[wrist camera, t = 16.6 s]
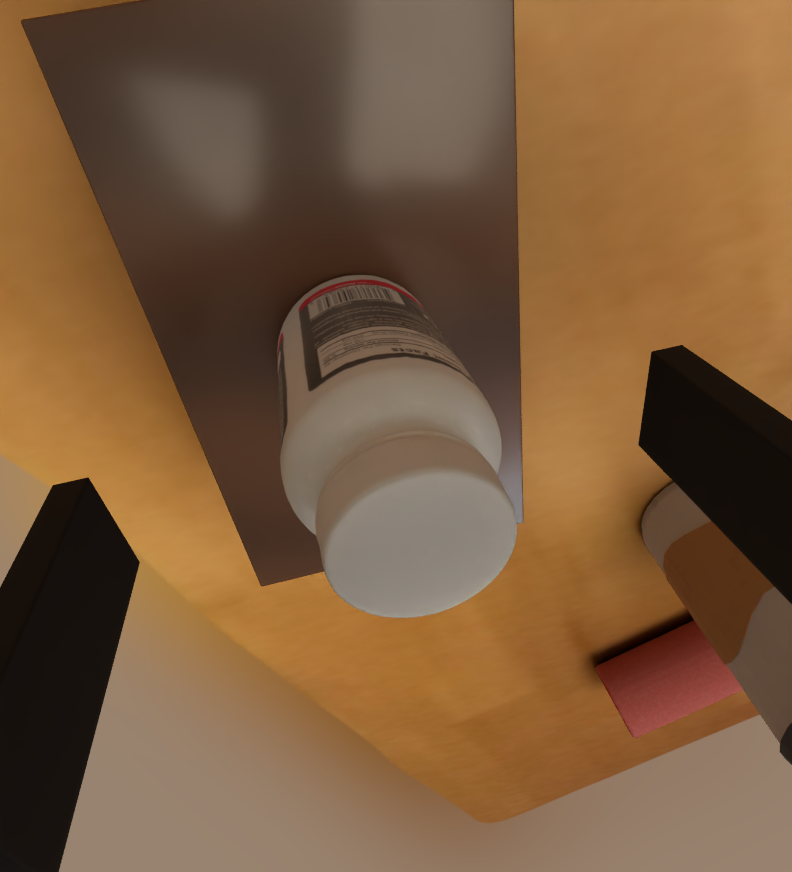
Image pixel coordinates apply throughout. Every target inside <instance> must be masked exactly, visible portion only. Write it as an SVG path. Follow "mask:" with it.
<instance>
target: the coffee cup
mask: <svg viewBox="0 0 792 872" xmlns="http://www.w3.org/2000/svg"><path fill="white" fill-rule="evenodd" d="M641 527H642V532H643V534H642V535H643V540H644V544H645V546H646V547H647V548H648V550H649V551H650V553H651V554H652V556H653V557H654V559H655V560H656V562H657V563H658V565H659V566H660V568H661V569H662V571H663V572H664V573H665V575H666V578H667V580H668V582H669V583H670V585H671V586H672V588H673V589H674V591H675V592H676V594H677V595H678V597H679V598H680V600H681V601H682V603H683V604H684V606H685V607H686V609H687V610H688V611H689V613H690V614H691V616H692V617H693V619H694V620H695V622H696V623H697V625H698V626H699V628H700V629H701V631H702V632H703V634H704V635H705V637H706V638H707V640H708V641H709V643H710V644H711V646H712V647H713V649H714V650H715V652H716V653H717V655H718V656H719V658H720V659H721V661H722V662H723V663H724V665H726V666H728V668H729V669H730V671H731V672H732V674H733V675H734V677H735V678H736V680H737V681H738V682H739V684H740V685H741V687H742V688H743V690H744V691H745V693H746V694H747V696H748V697H749V699H750V700H751V702H752V703H753V705H754V706H755V707H756V709H757V710H758V712H759V713H760V715H761V716H762V718H763V719H764V721H765V722H766V724H767V725H768V727H769V728H770V729H771V731H772V733H773V734H774V735H775V737H776V738H777V740H778V741H779V743H780V752H781V754H782V755H783V756H784V758H785V759H786V760H787V761H788V762H789V763H791V764H792V604H791V603H790V602H789V601H788V600H787V599H786V598H785V597H784V596H783V595H782V594H781V593H780V592H779V591H778V590H777V589H776V588H775V587H774V586H773V585H772V584H771V583H770V581H769V580H768V579H767V578H766V577H765V576H764V575H763V574H762V573H761V572H760V571H759V570H758V569H757V568H756V567H755V566H754V565H753V564H752V563H751V562H750V561H749V560H748V559H747V557H746V556H745V555H744V554H743V553H742V552H741V551H740V550H739V549H738V548H737V547H736V546H735V545H734V544H733V543H732V542H731V541H730V540H729V539H728V538H727V537H726V536H725V535H724V534H723V532H722V531H721V530H720V529H719V528H718V527H717V526H716V525H715V524H714V523H713V522H712V521H711V520H710V519H709V518H708V517H707V516H706V515H705V514H704V513H703V512H702V511H701V510H700V508H699V507H698V506H697V505H696V504H695V503H694V502H693V501H692V500H691V499H690V498H689V497H688V496H687V495H686V494H685V493H684V492H683V491H682V490H681V489H680V488H679V487H678V486H677V485H676V483H675V482H673V483H672V484H670V485H669V486H667V487H666V488H664V489H663V490H662V491H661V492H660V493H659V494H658V495H657V496H656V497H655V498H654V499H653V500H652V501H651V503H650V504H649V505H648V507H647V509H646V511H645V513H644V515H643V518H642V524H641Z"/></svg>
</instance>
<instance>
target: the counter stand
mask: <svg viewBox="0 0 792 872" xmlns="http://www.w3.org/2000/svg"><path fill="white" fill-rule="evenodd" d="M21 24H22V26H23V28H24V31H25V33H26V35H27V38H28V40H29V42H30V45H31V47H32V49H33V52H34V54H35V56H36V59H37V61H38V64H39V66H40V68H41V71H42V73H43V75H44V78H45V80H46V82H47V85H48V87H49V89H50V92H51V94H52V96H53V99H54V101H55V103H56V106H57V108H58V110H59V113H60V115H61V118H62V120H63V122H64V125H65V127H66V129H67V132H68V134H69V136H70V139H71V141H72V143H73V146H74V148H75V150H76V153H77V155H78V157H79V160H80V162H81V165H82V167H83V169H84V172H85V174H86V176H87V179H88V181H89V183H90V186H91V188H92V190H93V193H94V195H95V197H96V200H97V202H98V204H99V207H100V209H101V211H102V214H103V216H104V219H105V221H106V223H107V226H108V228H109V230H110V233H111V235H112V237H113V240H114V242H115V244H116V247H117V249H118V251H119V254H120V256H121V258H122V261H123V263H124V265H125V268H126V270H127V273H128V275H129V277H130V280H131V282H132V284H133V287H134V289H135V291H136V294H137V296H138V298H139V301H140V303H141V305H142V308H143V310H144V312H145V315H146V317H147V320H148V322H149V324H150V327H151V329H152V331H153V334H154V336H155V338H156V341H157V343H158V345H159V348H160V350H161V352H162V355H163V357H164V359H165V362H166V364H167V366H168V369H169V371H170V374H171V376H172V378H173V381H174V383H175V385H176V388H177V390H178V392H179V395H180V397H181V399H182V402H183V404H184V406H185V409H186V411H187V413H188V416H189V418H190V420H191V423H192V425H193V428H194V430H195V432H196V435H197V437H198V439H199V442H200V444H201V446H202V449H203V451H204V453H205V456H206V458H207V460H208V463H209V465H210V467H211V470H212V472H213V475H214V477H215V479H216V482H217V484H218V486H219V489H220V491H221V493H222V496H223V498H224V500H225V503H226V505H227V507H228V510H229V512H230V514H231V517H232V519H233V521H234V524H235V526H236V529H237V531H238V533H239V536H240V538H241V540H242V543H243V545H244V547H245V550H246V552H247V554H248V557H249V559H250V561H251V564H252V566H253V568H254V571H255V573H256V575H257V578H258V580H259V583H260V585H261V586H266V585H270V584H274V583H278V582H283V581H287V580H291V579H295V578H299V577H303V576H307V575H311V574H315V573H319V572H323V571H324V568H323V564H322V558H321V552H320V546H319V543H318V540H317V536H316V535H315V534H313V533H312V532H311V531H310V530H309V529H308V528H307V527H306V526H305V525H304V524H303V523H302V522H301V521H300V519H299V518H298V517H297V515H296V514H295V512H294V511H293V509H292V507H291V505H290V503H289V501H288V499H287V496H286V493H285V489H284V485H283V481H282V476H281V464H280V411H279V386H278V372H277V349H278V340H279V335H280V331H281V329H282V326H283V323H284V321H285V319H286V318H287V316H288V314H289V313H290V311H291V309H292V308H293V306H294V305H295V304H296V303H297V302H298V301H299V300H300V299H301V298H302V297H303V296H304V295H305V294H306V293H308V292H309V291H310V290H312V289H313V288H315V287H317V286H318V285H320V284H322V283H324V282H327V281H329V280H332V279H335V278H339V277H343V276H350V275H371V276H376V277H380V278H384V279H386V280H389V281H391V282H393V283H395V284H397V285H399V286H401V287H403V288H404V289H406V290H407V291H408V292H409V293H411V294H412V295H413V296H414V297H415V298H416V299H417V300H418V301H419V303H420V304H421V305H422V306H423V308H424V309H425V310H426V312H427V313H428V314H429V316H430V317H431V318H432V320H433V321H434V323H435V325H436V326H437V328H438V329H439V330H440V332H441V333H442V335H443V336H444V338H445V339H446V341H447V342H448V344H449V345H450V347H451V348H452V350H453V351H454V353H455V354H456V356H457V357H458V358H459V360H460V361H461V363H462V364H463V366H464V367H465V369H466V370H467V372H468V373H469V375H470V376H471V377H472V379H473V380H474V382H475V383H476V384H477V386H478V388H479V389H480V391H481V392H482V393H483V395H484V397H485V398H486V400H487V401H488V403H489V405H490V407H491V409H492V411H493V413H494V415H495V418H496V420H497V423H498V426H499V430H500V435H501V444H502V454H501V462H500V467H499V470H498V474H497V476H498V478H499V480H500V482H501V483H502V485H503V487H504V489H505V491H506V493H507V495H508V496H509V498H510V500H511V503H512V505H513V508H514V511H515V515H516V521H517V524H519V523H523V476H522V422H521V367H520V313H519V258H518V204H517V149H516V95H515V40H514V0H139V1H133V2H127V3H121V4H115V5H109V6H103V7H96V8H90V9H84V10H78V11H72V12H66V13H60V14H54V15H47V16H41V17H35V18H29V19H23V20H21Z"/></svg>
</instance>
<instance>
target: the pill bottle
mask: <svg viewBox="0 0 792 872" xmlns="http://www.w3.org/2000/svg"><path fill="white" fill-rule="evenodd" d="M277 372H278V386H279V411H280V464H281V476H282V481H283V485H284V489H285V493H286V496H287V499H288V501H289V503H290V505H291V507H292V509H293V511H294V512H295V514H296V515H297V517H298V518H299V519H300V521H301V522H302V523H303V524H304V525H305V526H306V527H307V528H308V529H309V530H310V531H311V532H312V533H313V534H315V535H316V536H317V540H318V543H319V546H320V552H321V558H322V564H323V568H324V571H325V574H326V577H327V579H328V581H329V583H330V585H331V586H332V588H333V589H334V591H335V592H336V593H337V594H338V595H339V596H340V597H341V598H342V599H343V600H344V601H345V602H347V603H348V604H350V605H352V606H353V607H355V608H357V609H359V610H362V611H364V612H366V613H369V614H373V615H377V616H383V617H395V618H410V617H420V616H426V615H430V614H435V613H439V612H442V611H444V610H447V609H450V608H452V607H454V606H456V605H458V604H460V603H462V602H464V601H466V600H468V599H470V598H471V597H473V596H474V595H476V594H477V593H478V592H480V591H481V590H483V589H484V588H485V587H486V586H487V585H488V584H489V583H490V582H492V581H493V580H494V579H495V578H496V577H497V575H498V574H499V573H500V572H501V570H502V569H503V568H504V567H505V565H506V563H507V561H508V559H509V558H510V556H511V553H512V551H513V548H514V545H515V541H516V533H517V521H516V515H515V511H514V508H513V505H512V503H511V500H510V498H509V496H508V495H507V493H506V491H505V489H504V487H503V485H502V483H501V482H500V480H499V478H498V476H497V474H498V470H499V467H500V462H501V454H502V444H501V435H500V430H499V426H498V423H497V420H496V418H495V415H494V413H493V411H492V409H491V407H490V405H489V403H488V401H487V400H486V398H485V397H484V395H483V393H482V392H481V391H480V389H479V388H478V386H477V384H476V383H475V382H474V380H473V379H472V377H471V376H470V375H469V373H468V372H467V370H466V369H465V367H464V366H463V364H462V363H461V361H460V360H459V358H458V357H457V356H456V354H455V353H454V351H453V350H452V348H451V347H450V345H449V344H448V342H447V341H446V339H445V338H444V336H443V335H442V333H441V332H440V330H439V329H438V328H437V326H436V325H435V323H434V321H433V320H432V318H431V317H430V316H429V314H428V313H427V312H426V310H425V309H424V308H423V306H422V305H421V304H420V303H419V301H418V300H417V299H416V298H415V297H414V296H413V295H412V294H411V293H409V292H408V291H407V290H406V289H404V288H403V287H401V286H399V285H397V284H395V283H393V282H391V281H389V280H386V279H384V278H380V277H376V276H371V275H350V276H343V277H339V278H335V279H332V280H329V281H327V282H324V283H322V284H320V285H318V286H317V287H315V288H313V289H312V290H310V291H309V292H308V293H306V294H305V295H304V296H303V297H302V298H301V299H300V300H299V301H298V302H297V303H296V304H295V305H294V306H293V308H292V309H291V311H290V313H289V314H288V316H287V318H286V319H285V321H284V323H283V326H282V329H281V331H280V335H279V340H278V349H277Z"/></svg>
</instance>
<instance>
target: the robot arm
mask: <svg viewBox="0 0 792 872" xmlns="http://www.w3.org/2000/svg"><path fill="white" fill-rule="evenodd" d="M638 445H639V446H640V447H641V448H642V449H643V450H644V451H645V452H646V453H647V454H648V455H649V456H650V457H651V458H652V459H653V461H654V462H655V463H656V464H657V465H658V466H659V467H660V468H661V469H662V470H663V471H664V472H665V473H666V474H667V475H668V476H669V477H670V478H671V479H672V480H673V481H674V482H675V483H676V485H677V486H678V487H679V488H680V489H681V490H682V491H683V492H684V493H685V494H686V495H687V496H688V497H689V498H690V499H691V500H692V501H693V502H694V503H695V504H696V505H697V506H698V507H699V508H700V510H701V511H702V512H703V513H704V514H705V515H706V516H707V517H708V518H709V519H710V520H711V521H712V522H713V523H714V524H715V525H716V526H717V527H718V528H719V529H720V530H721V531H722V532H723V534H724V535H725V536H726V537H727V538H728V539H729V540H730V541H731V542H732V543H733V544H734V545H735V546H736V547H737V548H738V549H739V550H740V551H741V552H742V553H743V554H744V555H745V556H746V557H747V559H748V560H749V561H750V562H751V563H752V564H753V565H754V566H755V567H756V568H757V569H758V570H759V571H760V572H761V573H762V574H763V575H764V576H765V577H766V578H767V579H768V580H769V581H770V583H771V584H772V585H773V586H774V587H775V588H776V589H777V590H778V591H779V592H780V593H781V594H782V595H783V596H784V597H785V598H786V599H787V600H788V601H789V602H790V603H791V604H792V421H791V420H790V419H788V418H787V417H786V416H784V415H783V414H781V413H780V412H778V411H777V410H775V409H774V408H773V407H771V406H770V405H768V404H767V403H765V402H764V401H762V400H761V399H759V398H758V397H757V396H755V395H754V394H752V393H751V392H749V391H748V390H746V389H745V388H744V387H742V386H741V385H739V384H738V383H736V382H735V381H733V380H732V379H730V378H729V377H728V376H726V375H725V374H723V373H722V372H720V371H719V370H717V369H716V368H715V367H713V366H712V365H710V364H709V363H707V362H706V361H704V360H703V359H701V358H700V357H699V356H697V355H696V354H694V353H693V352H691V351H690V350H688V349H687V348H685V347H684V346H683V345H680V346H675V347H671V348H667V349H662V350H658V351H653V352H651V359H650V366H649V373H648V381H647V388H646V395H645V402H644V409H643V416H642V423H641V430H640V437H639V444H638ZM139 563H140V562H139V560H138V559H137V557H136V555H135V554H134V552H133V550H132V549H131V547H130V545H129V544H128V542H127V540H126V539H125V537H124V535H123V534H122V532H121V530H120V529H119V527H118V526H117V524H116V522H115V521H114V519H113V517H112V516H111V514H110V512H109V511H108V509H107V507H106V506H105V504H104V502H103V501H102V499H101V497H100V496H99V494H98V492H97V491H96V489H95V488H94V486H93V484H92V483H91V481H90V479H89V478H84V479H79V480H75V481H70V482H66V483H61V484H57V485H53V486H52V488H51V490H50V492H49V494H48V496H47V498H46V500H45V502H44V504H43V506H42V507H41V510H40V511H39V514H38V515H37V517H36V519H35V521H34V523H33V525H32V527H31V529H30V531H29V533H28V535H27V537H26V539H25V541H24V542H23V544H22V546H21V548H20V550H19V552H18V554H17V556H16V558H15V560H14V562H13V564H12V566H11V568H10V570H9V572H8V574H7V575H6V577H5V579H4V581H3V583H2V585H1V587H0V872H59V868H60V864H61V860H62V856H63V853H64V849H65V845H66V841H67V837H68V833H69V829H70V826H71V822H72V818H73V814H74V811H75V807H76V803H77V799H78V795H79V792H80V788H81V784H82V780H83V777H84V773H85V769H86V765H87V761H88V757H89V754H90V749H91V746H92V742H93V738H94V734H95V730H96V727H97V723H98V719H99V715H100V712H101V707H102V704H103V700H104V696H105V693H106V689H107V685H108V681H109V677H110V674H111V670H112V666H113V662H114V658H115V654H116V651H117V647H118V643H119V639H120V635H121V631H122V628H123V624H124V620H125V616H126V612H127V609H128V605H129V601H130V597H131V593H132V590H133V586H134V582H135V578H136V574H137V571H138V567H139Z"/></svg>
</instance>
